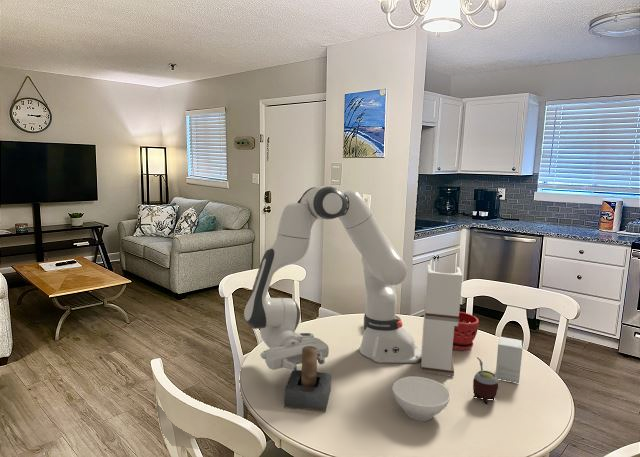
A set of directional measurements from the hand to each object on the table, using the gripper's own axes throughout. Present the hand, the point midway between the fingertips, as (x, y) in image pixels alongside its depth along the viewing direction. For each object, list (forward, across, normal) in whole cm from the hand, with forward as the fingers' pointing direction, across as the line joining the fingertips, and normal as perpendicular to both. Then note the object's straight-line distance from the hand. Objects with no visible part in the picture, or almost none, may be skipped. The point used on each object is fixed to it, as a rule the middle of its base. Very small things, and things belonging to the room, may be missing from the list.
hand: (308, 364), depth 127 cm
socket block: (0, 0, +11) cm, 11 cm away
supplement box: (+19, +66, +11) cm, 69 cm away
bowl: (+21, +25, +11) cm, 34 cm away
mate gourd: (+25, +47, +11) cm, 54 cm away
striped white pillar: (+3, +50, +11) cm, 51 cm away
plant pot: (-6, +70, +11) cm, 72 cm away
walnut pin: (0, 0, +10) cm, 10 cm away
